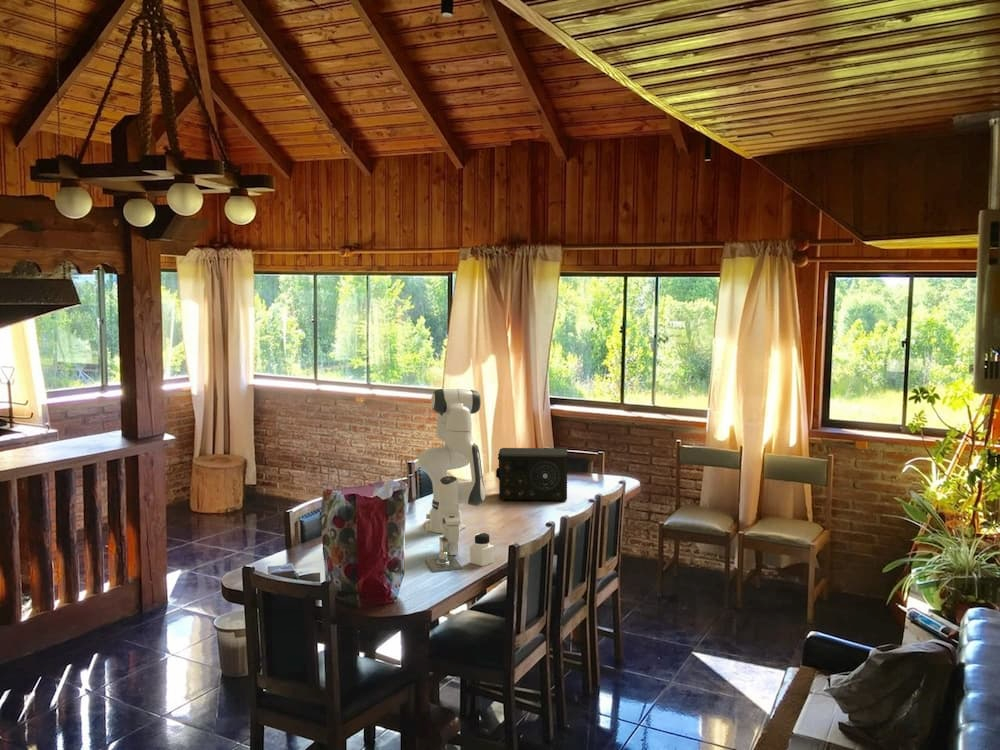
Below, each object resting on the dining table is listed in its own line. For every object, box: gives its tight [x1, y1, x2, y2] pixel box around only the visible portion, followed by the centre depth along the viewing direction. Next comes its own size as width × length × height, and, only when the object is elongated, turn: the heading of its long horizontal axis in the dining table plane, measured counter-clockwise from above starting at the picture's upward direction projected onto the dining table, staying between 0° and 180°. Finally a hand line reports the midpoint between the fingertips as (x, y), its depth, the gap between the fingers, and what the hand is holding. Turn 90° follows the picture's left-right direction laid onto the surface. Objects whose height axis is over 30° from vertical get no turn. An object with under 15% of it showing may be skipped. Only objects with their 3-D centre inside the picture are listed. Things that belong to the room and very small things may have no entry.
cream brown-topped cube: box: [438, 536, 459, 556], centre depth 367 cm, size 7×7×6 cm
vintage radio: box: [495, 447, 569, 503], centre depth 457 cm, size 38×20×25 cm, turn 86°
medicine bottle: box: [469, 532, 495, 567], centre depth 356 cm, size 7×7×12 cm
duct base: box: [424, 550, 463, 573], centre depth 354 cm, size 14×12×5 cm
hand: (448, 547), depth 367 cm, fingers closed on cream brown-topped cube, 6 cm apart
